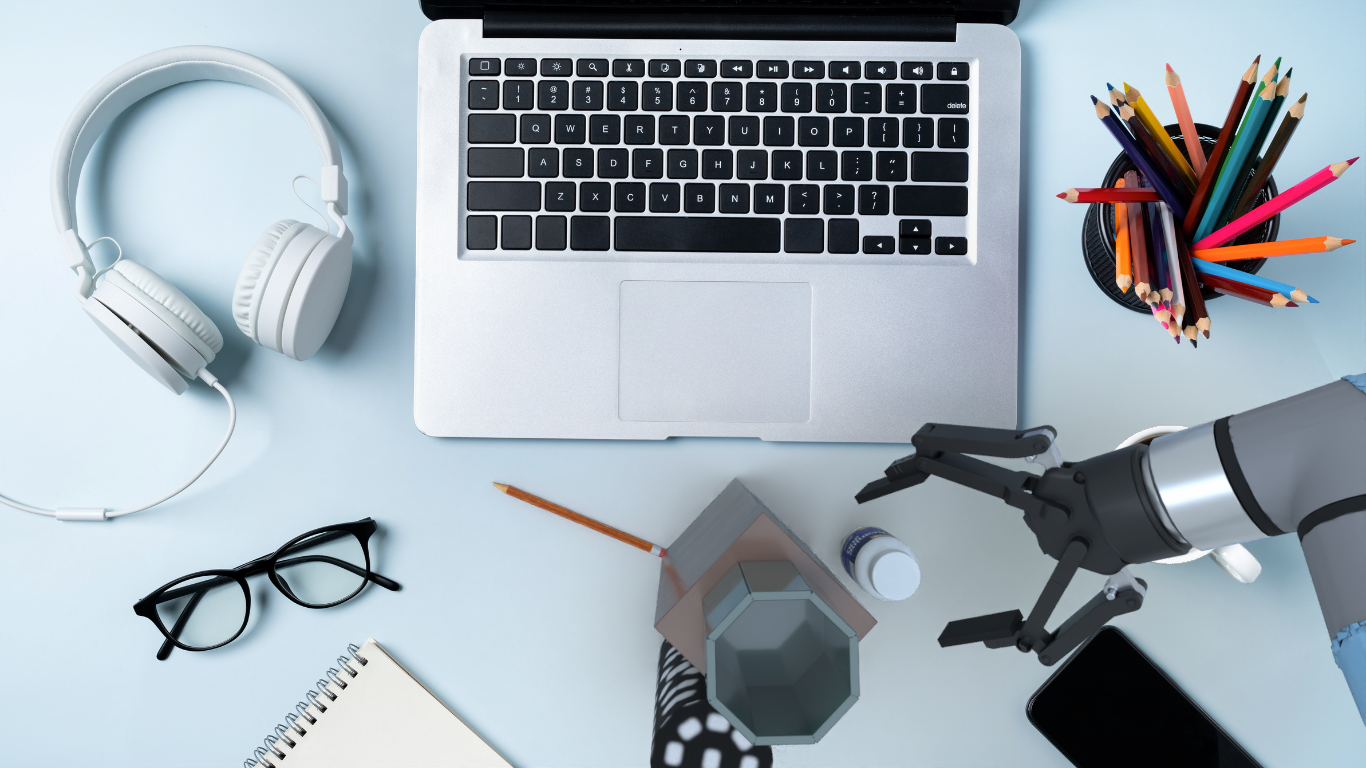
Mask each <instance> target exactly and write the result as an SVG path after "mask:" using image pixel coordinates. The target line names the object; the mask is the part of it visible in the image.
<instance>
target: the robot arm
mask: <svg viewBox="0 0 1366 768" xmlns="http://www.w3.org/2000/svg"><path fill="white" fill-rule="evenodd" d="M910 437H911V438H910V443H911V445H912V446H913V447H914V448H915V452H914V453H910V454H908V455H906V456H903V457H901V458H898V459H895V460H894V461H893V462H892V463H891V464H890V465H889V466H888V467H887V468H886V469H885V470H884V471H883V474H884V475H885V476H883V477H881V478H878V479H875V480H873V481H870V482H868V483H867V484H865V485H864V487H862V488H861V489H860V490H859V491H858V492H857V493H855V495H854V496H853V498H854V500H855V501H856V502H857V504H858V505H862V504H865V503H868V502H871V501H873V500H876V499H879V498H882V497H887V495H891V494H894V493H898V492H900V491H903V490H906V489H909V488H912V487H915V486H918V485H920V484H924V483H925V482H926V481H927V480H928V479H929V478H930V476H935V477H938V478H941V479H944V480H947V481H949V482H952V483H955V484H957V485H961V486H963V487H966V488H969V489H972V490H976V491H978V492H981V493H984V494H986V495H989V496H993V497H995V498H998V499H1000V500H1003V501H1004V503H1005V504H1006V505H1007V506H1009V507H1014V508H1015V509H1018V510H1021V511H1023V516H1022V519H1023V521H1024V523H1025V525H1026V526H1027V528H1028V529H1029V530H1030V531H1031V532H1032V533H1033V534H1034V535H1035V537H1036V540H1037V544H1038V547H1039V548H1040V550H1041V552H1042V554H1043V555H1048V556H1049V557H1050V558H1052V559H1053V560H1055V561H1058V562H1057V564H1056V565H1055V567H1054V569H1053V571H1052V573H1051V574H1050V577H1049V578H1048V580H1047V582H1046V583H1045V586H1044V587H1043V589H1042V591H1041V592H1040V594H1039V597H1038V598H1037V600H1036V602H1035V603H1034V605H1033V607H1032V608H1031V611H1030V613H1029V614H1028V616H1027V618H1026V619H1025V620H1023V619H1024V618H1025V616H1024V615H1023V613H1022V611H1021V609H1020V608H1016V609H1009V610H1004V611H999V612H995V613H994V612H993V613H987V614H983V615H977V616H972V617H966V618H962V619H961V618H960V619H957V620H950V621H948V622H947V624H946V625H945V627H944V628H943V630H942V631H941V633H940V635H939V636H938V638H937V642H938V644H939V645H940V647H941V648H942V649H943V648H950V647H955V646H956V647H957V646H961V645H962V646H963V645H968V644H973V643H974V644H975V643H982V642H983V644H984V646H985V648H987V649H990V650H997V649H1004V648H1010V647H1011V648H1012V647H1015V648H1016V649H1017V650H1018V651H1019V652H1020V653H1025V654H1028V653H1030V652H1032V651H1033V652H1034V653H1035V654H1036V655H1037V660H1038V662H1039V663H1040V664H1041V665H1042V666H1044V667H1049V668H1051V667H1053V666H1054V665H1056V664H1057V663H1058V662H1059V661H1061V660H1062V659H1064V658H1065V657H1066V656H1067V655H1068V654H1070V653H1071V652H1072V651H1073V650H1075V649H1076V648H1077V647H1078V646H1080V645H1081V644H1082V643H1084V642H1085V641H1086V640H1087V639H1089V638H1090V637H1091V636H1092V635H1093V634H1095V633H1096V632H1097V631H1099V630H1100V629H1101V628H1102V627H1103V626H1105V625H1106V624H1107V623H1108V622H1110V621H1111V620H1112V619H1113V618H1115V617H1118V616H1122V615H1126V614H1129V613H1133V612H1137V611H1138V610H1141V608H1142V606H1143V603H1144V600H1145V597H1146V594H1147V591H1148V587H1149V585H1148V583H1147V581H1145V579H1143V578H1141V577H1137V576H1135V577H1134V576H1133V574H1132V573H1131V571H1130V570H1129V569H1128V568H1127V566H1129V565H1142V564H1145V563H1150V562H1151V563H1152V562H1157V561H1162V560H1166V559H1171V558H1176V557H1182V556H1185V555H1188V554H1189V552H1190V551H1191V550H1192V549H1193V548H1195V549H1196V550H1199V551H1200V552H1205V551H1210V550H1215V549H1220V548H1226V547H1229V546H1234V545H1239V544H1243V543H1249V542H1254V541H1258V540H1263V539H1268V538H1272V537H1278V536H1282V535H1287V534H1292V533H1296V535H1297V537H1298V540H1299V544H1300V548H1301V549H1302V553H1303V557H1304V559H1305V563H1306V566H1307V569H1308V572H1309V575H1310V578H1311V583H1312V585H1313V587H1314V591H1315V593H1316V597H1317V600H1318V601H1317V602H1318V603H1319V604H1318V605H1319V607H1320V610H1321V614H1322V617H1323V620H1324V623H1325V626H1326V630H1327V633H1328V636H1329V639H1330V643H1331V646H1330V649H1331V653H1332V656H1333V659H1334V663H1335V665H1336V666H1337V668H1338V669H1339V670H1341V672H1342V674H1343V677H1344V679H1345V681H1346V684H1347V687H1348V689H1349V691H1350V694H1351V697H1352V699H1353V701H1354V704H1355V706H1356V708H1357V711H1358V714H1359V716H1360V718H1361V721H1362V723H1363V725H1364V727H1365V728H1366V372H1363V373H1359V374H1346V375H1344V376H1341V377H1340V379H1338V380H1334V381H1331V382H1328V383H1326V384H1323V385H1319V386H1318V387H1315V388H1311V389H1309V390H1305V391H1304V392H1300V393H1297V394H1294V395H1291V396H1288V397H1284V398H1281V399H1279V400H1276V401H1272V402H1270V403H1267V404H1263V405H1261V406H1257V407H1255V408H1251V409H1248V410H1245V411H1242V412H1239V413H1236V414H1233V413H1232V414H1230V415H1227V416H1224V417H1221V418H1216V419H1213V420H1209V421H1206V422H1203V423H1200V424H1197V425H1193V426H1190V427H1187V428H1184V429H1180V430H1177V431H1174V432H1169V433H1167V434H1163V435H1161V436H1158V437H1154V438H1153V439H1152V441H1150V444H1149V445H1148V444H1144V443H1141V442H1138V443H1133V444H1131V445H1127V446H1124V447H1121V448H1118V449H1115V450H1111V451H1109V452H1105V453H1102V454H1098V455H1095V456H1092V457H1088V458H1087V459H1083V460H1081V461H1066V460H1063V457H1062V456H1061V453H1060V451H1059V448H1058V446H1057V444H1056V442H1055V439H1057V437H1058V431H1057V429H1056V428H1055V427H1054V426H1052V425H1051V424H1044V425H1039V426H1035V427H1031V428H1026V429H1022V430H1020V429H1008V428H997V427H995V428H994V427H988V426H987V427H985V426H977V425H976V426H975V425H962V424H952V423H937V422H925V423H924V424H923V425H922V426H920V428H919V429H918V430H917V431H916V432H915V433H913V435H912V436H910ZM970 455H973V456H980V457H981V456H983V457H990V458H991V457H992V458H999V459H1013V460H1014V459H1022V458H1024V461H1025V462H1026V463H1029V464H1031V463H1032V464H1040V465H1041V466H1043V467H1044V469H1045V470H1044V472H1043V473H1042V474H1041V475H1038V474H1035V473H1032V472H1030V471H1026V470H1013V469H1009V468H1007V467H1004V466H1001V465H997V464H994V463H991V462H988V461H985V460H982V459H979V458H976V457H973V456H970ZM1027 491H1028V492H1027ZM1029 492H1030V493H1029ZM1078 569H1082V570H1087V571H1089V572H1092V573H1096V574H1098V575H1102V576H1108V578H1107V579H1106V581H1105V582H1104V583H1105V584H1104V586H1103V589H1101V590H1100V591H1099V592H1098V593H1097V594H1096V595H1094V596H1093V597H1092V598H1091V599H1090V600H1089V601H1087V602H1086V603H1085V604H1084V605H1083V606H1081V607H1080V608H1079V609H1078V610H1077V611H1075V612H1074V613H1073V614H1072V615H1070V617H1068V618H1067V619H1066V620H1065V621H1064V622H1062V623H1061V624H1060V625H1059V626H1058V627H1056V628H1055V629H1054V630H1053V631H1052V632H1049V631H1048V630H1047V629H1046V628H1045V627H1046V625H1047V623H1048V622H1049V619H1050V618H1051V615H1052V613H1053V612H1054V611H1055V609H1056V607H1057V606H1058V604H1059V602H1060V600H1061V599H1062V597H1063V594H1064V593H1065V591H1066V589H1068V587H1069V585H1070V583H1071V581H1072V580H1073V577H1074V576H1075V574H1076V572H1077V571H1078Z"/></svg>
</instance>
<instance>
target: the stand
mask: <svg viewBox="0 0 1366 768" xmlns="http://www.w3.org/2000/svg"><path fill="white" fill-rule="evenodd" d="M665 550H666V551H665V553H664V554H663V555H662V557H661V564H660V572H659V580H658V589H657V596H656V605H655V606H656V607H655V613H654V623H653V628H654V629H655V630H656V631H657V632H658V633H659V634H660V635H661V636H662V637H663V638H664V640H665V639H666V640H667V641H668V642H669V643H670V644H671V645H673V646H674V647H675V648H676V649H677V650H678V651H679V652H680V653H681V654H682V655H683V656H684V657H685V658H686V659H687V660H688V661H689V662H690V663H691V664H692V665H693V666H694V667H695V668H696V669H697V670H698V671H699V672H700V673H701V674H702V675H704V676H705V669H704V659H703V637H702V601H703V598H704V597H705V596H706V595H707V594H708V593H709V592H710V591H711V590H712V588H713V587H714V586H715V585H716V584H717V583H718V582H719V581H720V580H721V579H722V578H723V577H724V576H725V575H726V574H727V573H728V572H729V571H730V569H731V568H732V567H733V566H734V565H735V564H736V563H739V562H740V561H779V560H790V562H791V561H792V562H793V563H794V564H795V565H796V566H797V567H798V568H799V569H800V570H802V571H803V572H804V573H805V574H806V575H807V576H808V577H809V578H810V579H811V580H812V581H813V582H814V583H815V584H816V585H817V586H818V587H819V588H820V589H821V590H822V591H823V592H824V593H825V594H826V595H828V597H829V598H830V599H831V601H832V602H833V603H834V604H835V606H836V607H837V608H838V609H839V611H840V612H841V613H842V615H843V616H844V617H845V618H846V620H847V621H848V622H849V623H850V625H851V626H852V627H853V629H854V630H855V631H856V632H857V635H858V643H860V642H861V641H862V640H863V639H864V638H865V637H866V636H867V635H868V633H870V631H871V630H872V629H873V628H874V627H875V626H876V625H877V624H878V622H879V621H878V620H877V619H876V618H875V616H873V614H871V612H870V611H869V610H868V609H867V608H866V607H865V606H864V604H862V602H860V601H859V600H858V598H857V597H855V595H854V594H853V593H852V592H851V591H850V589H848V588H847V587H846V585H845V584H844V583H843V582H842V581H841V580H840V579H839V578H838V577H837V576H836V574H834V573H833V571H832V570H831V569H830V568H829V567H828V566H827V565H826V564H825V562H823V560H822V559H821V558H820V557H819V556H818V555H817V554H816V553H815V552H814V551H813V550H812V549H811V548H810V547H809V546H808V545H807V544H806V543H805V542H804V541H803V540H802V539H801V538H799V536H798V535H797V534H796V533H794V532H793V531H792V529H790V528H789V527H788V526H787V525H786V524H785V523H784V522H783V520H781V518H779V517H778V516H777V515H776V514H775V513H774V512H773V511H771V509H770V508H768V507H767V506H766V504H764V503H763V502H762V501H761V500H760V499H759V498H758V497H757V496H756V495H755V494H754V493H753V492H752V491H751V490H750V489H749V488H748V487H746V485H744V484H743V482H741V481H740V479H738V478H737V477H734V478H733V480H732V481H730V483H728V484H727V486H726V487H725V488H724V489H723V490H722V491H721V492H720V493H719V494H718V495H717V496H716V497H715V499H713V500H712V501H711V502H710V503H709V505H708V506H707V507H706V508H705V509H704V510H703V511H702V512H701V513H700V514H699V515H698V516H697V517H696V518H695V519H694V520H693V521H692V522H691V523H690V524H689V525H688V527H686V529H684V531H683V532H682V533H681V534H680V535H679V536H678V537H677V538H676V539H675V540H674V541H673V542H672V543H671V544H670V546H668V548H666V549H665Z"/></svg>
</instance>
